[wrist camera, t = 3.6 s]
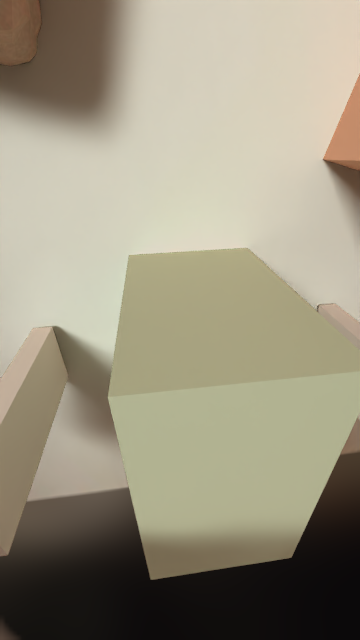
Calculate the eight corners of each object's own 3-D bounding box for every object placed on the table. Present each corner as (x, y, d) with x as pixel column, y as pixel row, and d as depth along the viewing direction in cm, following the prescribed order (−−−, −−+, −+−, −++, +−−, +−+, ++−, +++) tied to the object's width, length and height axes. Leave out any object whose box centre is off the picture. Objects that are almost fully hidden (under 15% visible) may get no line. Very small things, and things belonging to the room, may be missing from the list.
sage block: (147, 403, 14) (150, 580, 8) (129, 254, 10) (107, 397, 4) (231, 394, 15) (291, 557, 9) (246, 247, 10) (380, 369, 5)
